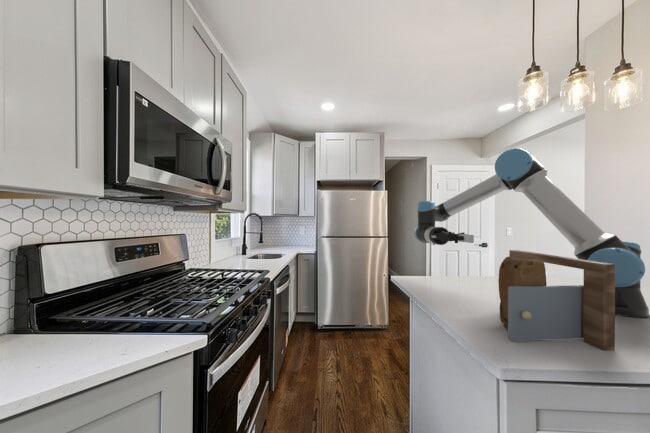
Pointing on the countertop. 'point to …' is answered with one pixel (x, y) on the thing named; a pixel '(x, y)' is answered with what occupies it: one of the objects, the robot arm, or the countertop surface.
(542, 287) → the door
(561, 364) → the countertop surface
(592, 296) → the door frame
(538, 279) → the brown elongated rounded part
